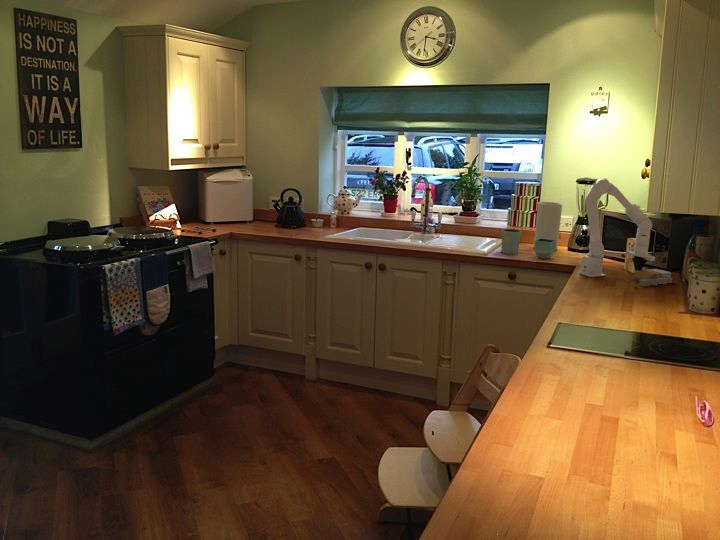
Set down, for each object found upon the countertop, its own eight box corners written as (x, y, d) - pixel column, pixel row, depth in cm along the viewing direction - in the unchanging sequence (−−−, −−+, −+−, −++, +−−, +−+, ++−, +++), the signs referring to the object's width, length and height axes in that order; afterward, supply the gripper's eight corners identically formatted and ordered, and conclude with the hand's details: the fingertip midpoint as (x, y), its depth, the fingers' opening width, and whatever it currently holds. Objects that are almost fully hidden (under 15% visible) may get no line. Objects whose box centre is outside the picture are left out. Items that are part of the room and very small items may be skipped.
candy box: (640, 273, 329) (645, 241, 326) (632, 273, 329) (636, 241, 325) (631, 269, 338) (635, 238, 335) (623, 269, 337) (627, 237, 334)
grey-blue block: (661, 283, 312) (662, 273, 311) (646, 279, 319) (647, 269, 318) (669, 282, 315) (671, 272, 314) (654, 278, 322) (655, 268, 321)
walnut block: (647, 284, 308) (649, 274, 307) (633, 280, 315) (634, 270, 314) (657, 283, 311) (658, 273, 310) (643, 279, 318) (644, 269, 317)
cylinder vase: (532, 246, 387) (536, 201, 381) (555, 247, 386) (560, 202, 380) (535, 250, 375) (540, 204, 369) (559, 252, 373) (564, 205, 368)
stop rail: (643, 286, 303) (644, 280, 303) (638, 285, 305) (639, 279, 305) (671, 283, 311) (672, 278, 311) (667, 282, 313) (668, 276, 313)
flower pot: (532, 257, 355) (534, 240, 353) (538, 255, 363) (539, 238, 361) (549, 260, 351) (551, 242, 349) (554, 257, 358) (556, 240, 356)
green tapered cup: (522, 252, 367) (524, 230, 364) (515, 255, 358) (517, 232, 356) (503, 250, 372) (505, 227, 369) (496, 252, 364) (498, 230, 361)
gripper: (661, 246, 309) (657, 276, 312) (635, 240, 322) (631, 269, 325) (650, 247, 306) (645, 277, 309) (624, 241, 319) (620, 270, 322)
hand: (637, 273), depth 317 cm, fingers closed
